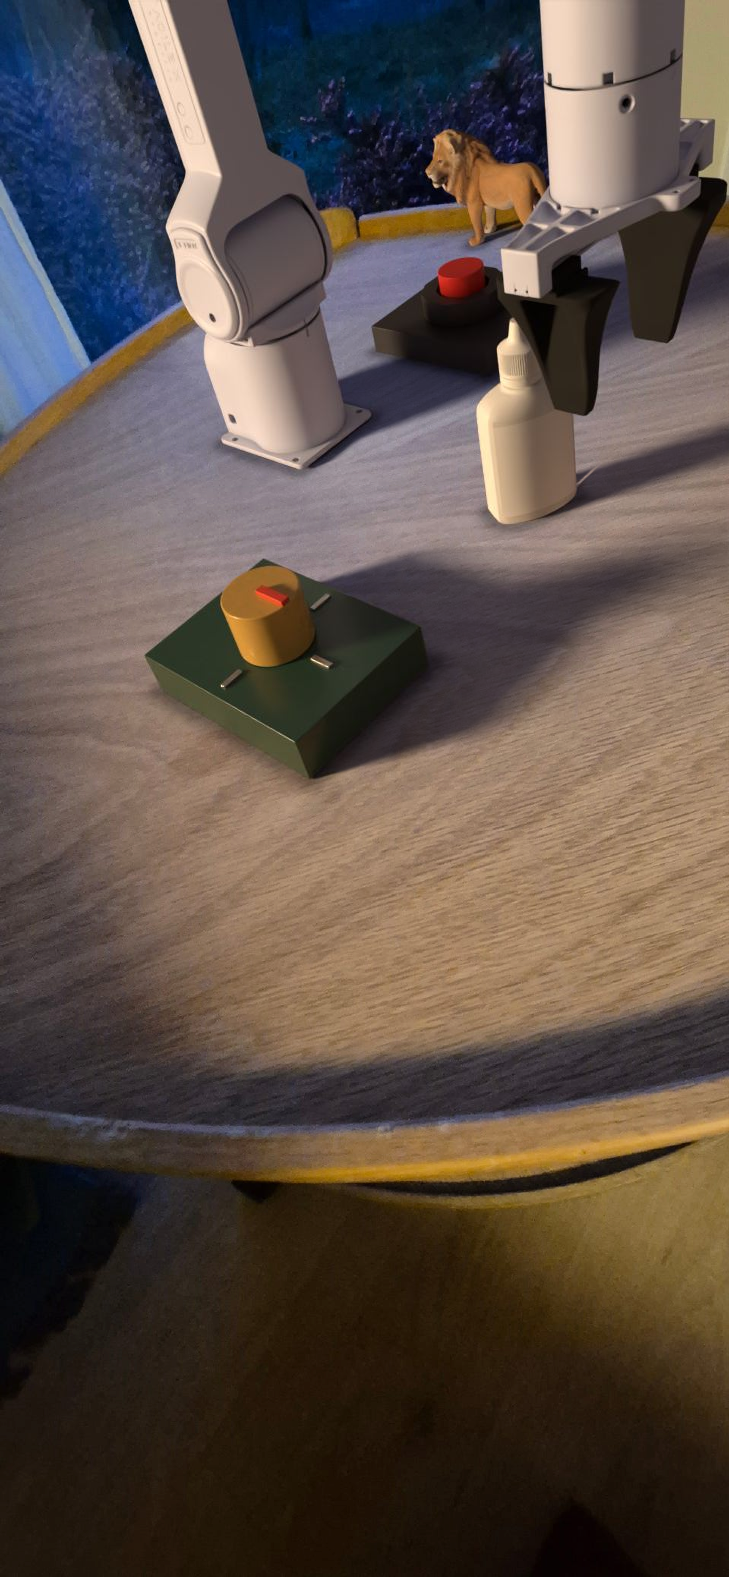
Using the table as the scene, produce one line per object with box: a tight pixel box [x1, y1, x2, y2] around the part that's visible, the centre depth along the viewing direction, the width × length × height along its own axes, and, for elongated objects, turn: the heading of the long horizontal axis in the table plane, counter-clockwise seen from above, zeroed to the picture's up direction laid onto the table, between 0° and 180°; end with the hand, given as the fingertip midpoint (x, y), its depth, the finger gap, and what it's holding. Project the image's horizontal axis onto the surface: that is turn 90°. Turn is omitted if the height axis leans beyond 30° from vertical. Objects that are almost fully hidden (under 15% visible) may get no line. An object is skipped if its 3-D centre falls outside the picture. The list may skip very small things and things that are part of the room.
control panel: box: [143, 558, 430, 780], centre depth 54 cm, size 13×10×3 cm
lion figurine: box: [425, 128, 547, 247], centre depth 84 cm, size 15×5×9 cm, turn 50°
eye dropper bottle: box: [476, 318, 578, 525], centre depth 57 cm, size 4×6×12 cm
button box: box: [371, 265, 513, 378], centre depth 76 cm, size 12×10×4 cm
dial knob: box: [221, 565, 315, 667], centre depth 52 cm, size 4×4×4 cm
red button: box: [437, 256, 486, 298], centre depth 74 cm, size 4×4×2 cm
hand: (614, 372), depth 50 cm, fingers open, 7 cm apart
